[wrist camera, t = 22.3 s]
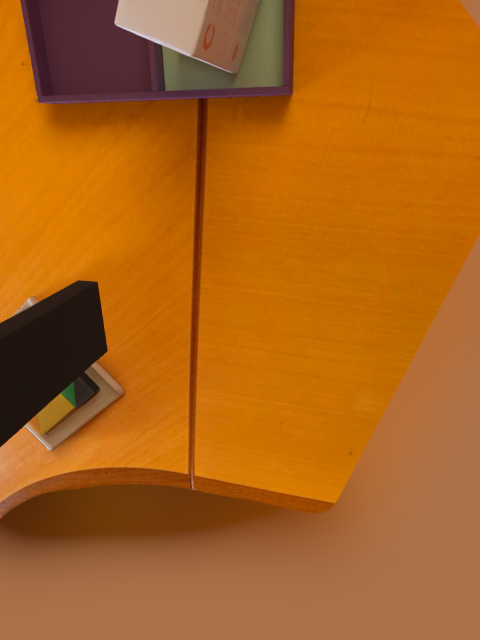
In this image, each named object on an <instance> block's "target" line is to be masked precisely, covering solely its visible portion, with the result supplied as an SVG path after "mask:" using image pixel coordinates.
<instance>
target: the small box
mask: <svg viewBox="0 0 480 640" xmlns="http://www.w3.org/2000/svg"><path fill="white" fill-rule="evenodd" d="M259 4H260V0H119V1H118V6H117V11H116V17H115V22H114V23H115V24H116V25H117V26H119V27H121V28H123V29H126V30H128V31H130V32H132V33H135V34H137V35H139V36H142V37H144V38H146V39H149V40H151V41H153V42H156V43H158V44H161V45H163V46H165V47H168V48H170V49H173V50H175V51H177V52H180V53H182V54H185V55H187V56H190V57H193V58H195V59H198V60H200V61H203V62H205V63H208V64H210V65H213V66H215V67H218V68H220V69H223V70H225V71H228V72H230V73H233V74H237V73H238V71H239V67H240V64H241V61H242V58H243V55H244V52H245V49H246V45H247V42H248V39H249V36H250V33H251V29H252V26H253V23H254V20H255V17H256V13H257V10H258V7H259Z"/></svg>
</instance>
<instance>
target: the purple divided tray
mask: <svg viewBox="0 0 480 640" xmlns="http://www.w3.org/2000/svg"><path fill="white" fill-rule="evenodd" d="M20 1H21V6H22V12H23V18H24V23H25V29H26V35H27V40H28V46H29V52H30V57H31V63H32V69H33V74H34V80H35V86H36V91H37V96H38V102H39V103H49V104H64V103H90V102H117V101H143V100H170V99H197V98H223V97H250V96H277V95H292V94H293V52H294V8H295V0H260V4H259V7H258V10H257V13H256V17H255V20H254V23H253V26H252V29H251V33H250V36H249V39H248V42H247V45H246V49H245V52H244V55H243V58H242V61H241V64H240V67H239V71H238V73H237V74H233V73H230V72H228V71H225V70H223V69H220V68H218V67H215V66H213V65H210V64H208V63H205V62H203V61H200V60H198V59H195V58H193V57H190V56H187V55H185V54H182V53H180V52H177V51H175V50H173V49H170V48H168V47H165V46H163V45H161V44H158V43H156V42H153V41H151V40H149V39H146V38H144V37H142V36H139V35H137V34H135V33H132V32H130V31H128V30H126V29H123V28H121V27H119V26H117V25H116V24H115V23H114V22H115V17H116V11H117V6H118V1H119V0H20Z"/></svg>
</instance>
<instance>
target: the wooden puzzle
mask: <svg viewBox="0 0 480 640" xmlns="http://www.w3.org/2000/svg"><path fill="white" fill-rule="evenodd" d="M38 302H39V301H38V300H37V299H36V298H35V297H30V298H29V299H28V300H27V301H26V302H25V303H24V304H23V305H22V306H21V307H20V308H19V309H18V311H17V312H16V313H15V314H14V315H16V314H18V313H20V312H22V311H24V310H25V309H27V308H29V307H31V306H33V305H35V304H36V303H38ZM14 315H13V316H14ZM13 316H12V317H13ZM123 393H124V389H123V388H122V387H121V386H120V385H119V384H118V383H117V382H116V381H115V380H114V379H113V378H112V377H111V376H110V375H109V374H108V372H107V371H106V370H105V369H104V368H103V367H102V366H101V365H100V364H99V363H98V362H97V361H96V362H95V363H94V364H93V365H91V366H90V367H89V368H88V369H87V370H86V371H85V372H84V373H83V374H81V375H80V376H79V377H78V378H77V379H76V380H75V381H74V382H72V383H71V384H70V385H69V386H68V387H67V388H66V389H65V390H64V391H62V392H61V393H60V394H59V395H58V396H57V397H56V398H55V399H54V400H52V401H51V402H50V403H49V404H48V405H47V406H46V407H45V408H43V409H42V410H41V411H40V412H39V413H38V414H37V415H36V416H35V417H33V418H32V419H31V420H30V421H29V422H28V423H27V424H26V425H24V426H25V427H26V428H27V429H28V430H29V431H30V432H31V433H32V434H33V435H34V436H35V437H36V438H37V439H38V440H39V441H40V442H41V443H42V444H43V445H45V446H46V447H47V449H49V450H53V449H55V448H56V447H57V446H59V445H60V444H61V443H62V442H64V441H65V440H66V439H67V438H69V437H70V436H71V435H72V434H73V433H75V432H76V431H77V430H78V429H80V428H81V427H82V426H83V425H85V424H86V423H87V422H88V421H90V420H91V419H92V418H93V417H94V416H96V415H97V414H98V413H100V412H101V411H102V410H103V409H105V408H106V407H107V406H108V405H110V404H111V403H112V402H113V401H115V400H116V399H117V398H118V397H120V396H121V395H122V394H123Z"/></svg>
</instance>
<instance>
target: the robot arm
mask: <svg viewBox="0 0 480 640" xmlns="http://www.w3.org/2000/svg"><path fill="white" fill-rule="evenodd" d="M107 351H108V350H107V343H106V336H105V330H104V323H103V316H102V309H101V302H100V295H99V288H98V282H93V281H77V282H75V283H73V284H71V285H69V286H67V287H66V288H64V289H62V290H60V291H58V292H56V293H55V294H53V295H51V296H49V297H47V298H45V299H44V300H42V301H40V302H38V303H36V304H35V305H33V306H31V307H29V308H27V309H25V310H24V311H22V312H20V313H18V314H16V315H14V316H13V317H11V318H9V319H7V320H5V321H3V322H2V323H0V447H1V446H2V445H3V444H4V443H6V442H7V441H8V440H9V439H10V438H11V437H12V436H13V435H14V434H16V433H17V432H18V431H19V430H20V429H21V428H22V427H23V426H24V425H26V424H27V423H28V422H29V421H30V420H31V419H32V418H33V417H35V416H36V415H37V414H38V413H39V412H40V411H41V410H42V409H43V408H45V407H46V406H47V405H48V404H49V403H50V402H51V401H52V400H54V399H55V398H56V397H57V396H58V395H59V394H60V393H61V392H62V391H64V390H65V389H66V388H67V387H68V386H69V385H70V384H71V383H72V382H74V381H75V380H76V379H77V378H78V377H79V376H80V375H81V374H83V373H84V372H85V371H86V370H87V369H88V368H89V367H90V366H91V365H93V364H94V363H95V362H96V361H97V360H98V359H99V358H100V357H102V356H103V355H104V354H105V353H106V352H107Z"/></svg>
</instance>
